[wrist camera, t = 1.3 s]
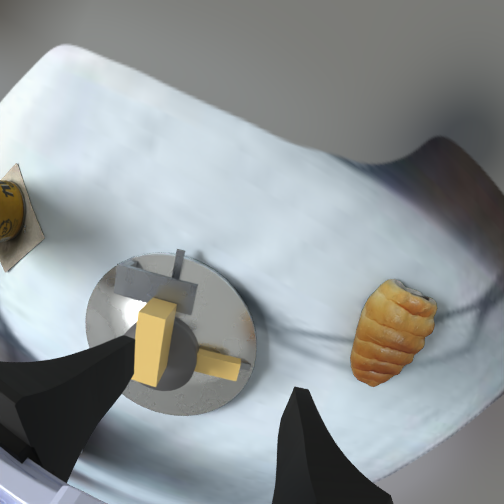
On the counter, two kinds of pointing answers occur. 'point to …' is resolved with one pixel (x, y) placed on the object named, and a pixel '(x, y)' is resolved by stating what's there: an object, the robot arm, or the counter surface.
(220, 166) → the counter surface
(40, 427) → the robot arm
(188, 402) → the post plate
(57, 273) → the counter surface
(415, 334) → the pastry
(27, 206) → the condiment
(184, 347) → the multicoloured piece
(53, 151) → the counter surface
